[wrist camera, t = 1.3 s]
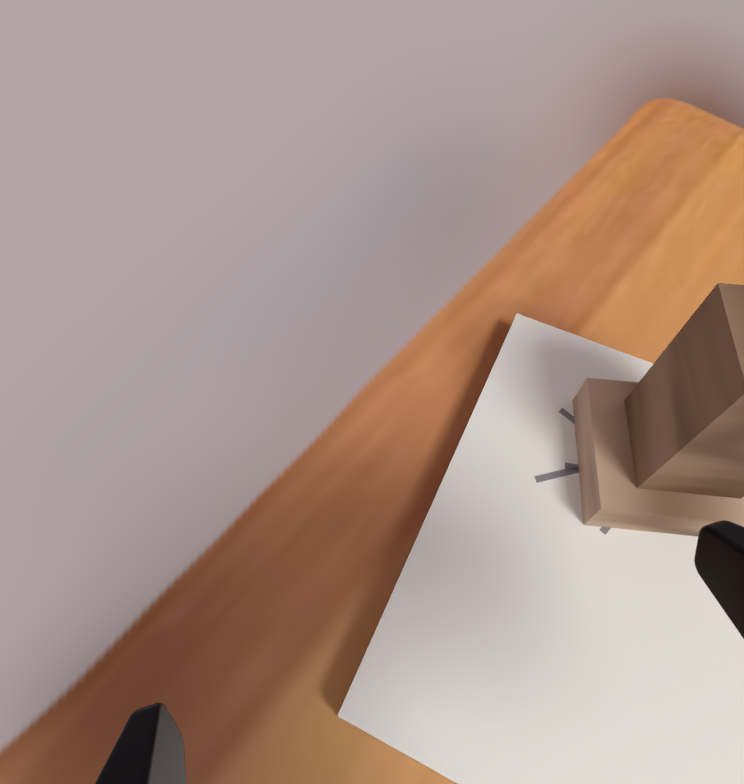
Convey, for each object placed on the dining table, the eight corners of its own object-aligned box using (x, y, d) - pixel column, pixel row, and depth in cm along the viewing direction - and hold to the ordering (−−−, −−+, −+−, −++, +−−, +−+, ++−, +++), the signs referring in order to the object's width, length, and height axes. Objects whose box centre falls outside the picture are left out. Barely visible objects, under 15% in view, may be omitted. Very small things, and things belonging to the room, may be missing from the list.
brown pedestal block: (724, 414, 27) (885, 274, 18) (755, 542, 24) (964, 442, 15) (572, 400, 27) (664, 255, 19) (583, 525, 24) (700, 417, 16)
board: (1018, 522, 26) (1053, 511, 24) (1079, 1132, 17) (1141, 1166, 15) (510, 330, 31) (516, 313, 29) (338, 717, 22) (337, 716, 20)
